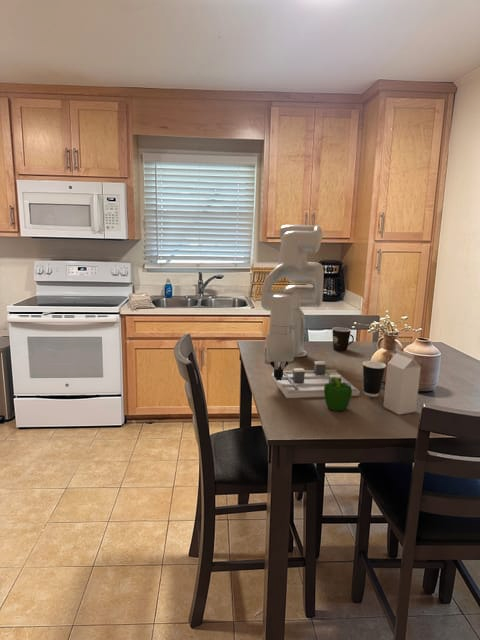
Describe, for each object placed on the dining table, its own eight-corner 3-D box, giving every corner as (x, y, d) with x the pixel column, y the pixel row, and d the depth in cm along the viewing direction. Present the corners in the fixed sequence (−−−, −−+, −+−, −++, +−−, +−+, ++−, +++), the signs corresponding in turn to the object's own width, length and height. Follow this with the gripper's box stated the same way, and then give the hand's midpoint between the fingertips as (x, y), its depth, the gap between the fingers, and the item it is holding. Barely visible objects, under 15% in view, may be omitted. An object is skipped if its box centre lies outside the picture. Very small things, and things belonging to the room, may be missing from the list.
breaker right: (328, 387, 158) (329, 374, 158) (337, 386, 159) (338, 374, 158) (330, 389, 156) (331, 376, 155) (340, 389, 157) (341, 376, 156)
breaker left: (313, 372, 174) (314, 361, 173) (322, 372, 174) (323, 361, 174) (315, 374, 172) (316, 363, 171) (324, 374, 172) (325, 363, 171)
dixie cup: (386, 393, 159) (389, 363, 157) (378, 400, 153) (381, 369, 150) (364, 388, 164) (367, 359, 161) (356, 394, 157) (358, 364, 155)
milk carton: (398, 415, 140) (404, 356, 137) (382, 406, 147) (388, 350, 143) (415, 412, 143) (422, 354, 139) (399, 404, 150) (405, 348, 146)
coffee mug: (328, 347, 219) (330, 327, 217) (345, 347, 220) (347, 327, 218) (336, 354, 208) (337, 332, 206) (354, 353, 209) (355, 333, 207)
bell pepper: (354, 412, 142) (357, 382, 140) (331, 414, 140) (333, 383, 138) (341, 402, 150) (343, 373, 148) (319, 404, 148) (321, 375, 145)
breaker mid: (292, 380, 164) (293, 368, 164) (302, 380, 165) (302, 368, 164) (294, 382, 162) (295, 370, 161) (304, 382, 163) (304, 370, 162)
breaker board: (271, 376, 173) (271, 371, 173) (335, 375, 178) (336, 369, 177) (286, 398, 152) (286, 391, 152) (359, 395, 156) (359, 389, 156)
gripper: (298, 327, 163) (295, 375, 167) (257, 327, 161) (255, 376, 165) (304, 331, 156) (301, 382, 160) (261, 332, 154) (259, 383, 157)
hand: (278, 379), depth 162 cm, fingers closed
